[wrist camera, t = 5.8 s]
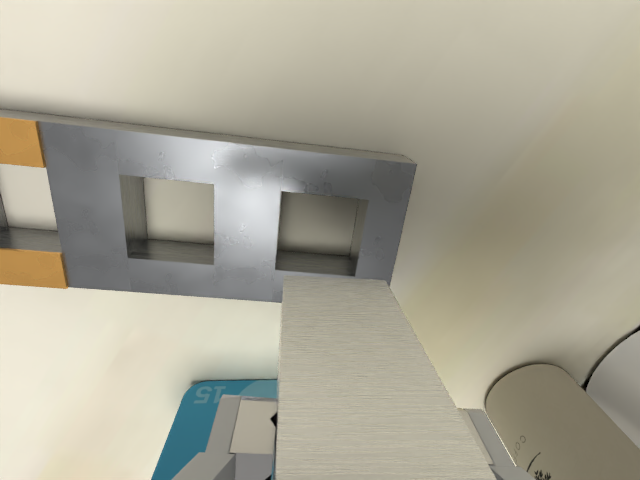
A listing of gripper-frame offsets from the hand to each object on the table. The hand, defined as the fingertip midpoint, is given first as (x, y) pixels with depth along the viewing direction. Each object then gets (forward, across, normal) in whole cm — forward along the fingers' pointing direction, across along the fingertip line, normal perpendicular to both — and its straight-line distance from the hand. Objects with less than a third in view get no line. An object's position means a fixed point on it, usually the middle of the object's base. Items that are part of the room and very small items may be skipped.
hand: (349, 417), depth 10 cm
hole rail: (+16, +10, 0) cm, 18 cm away
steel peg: (+5, 0, 0) cm, 5 cm away
